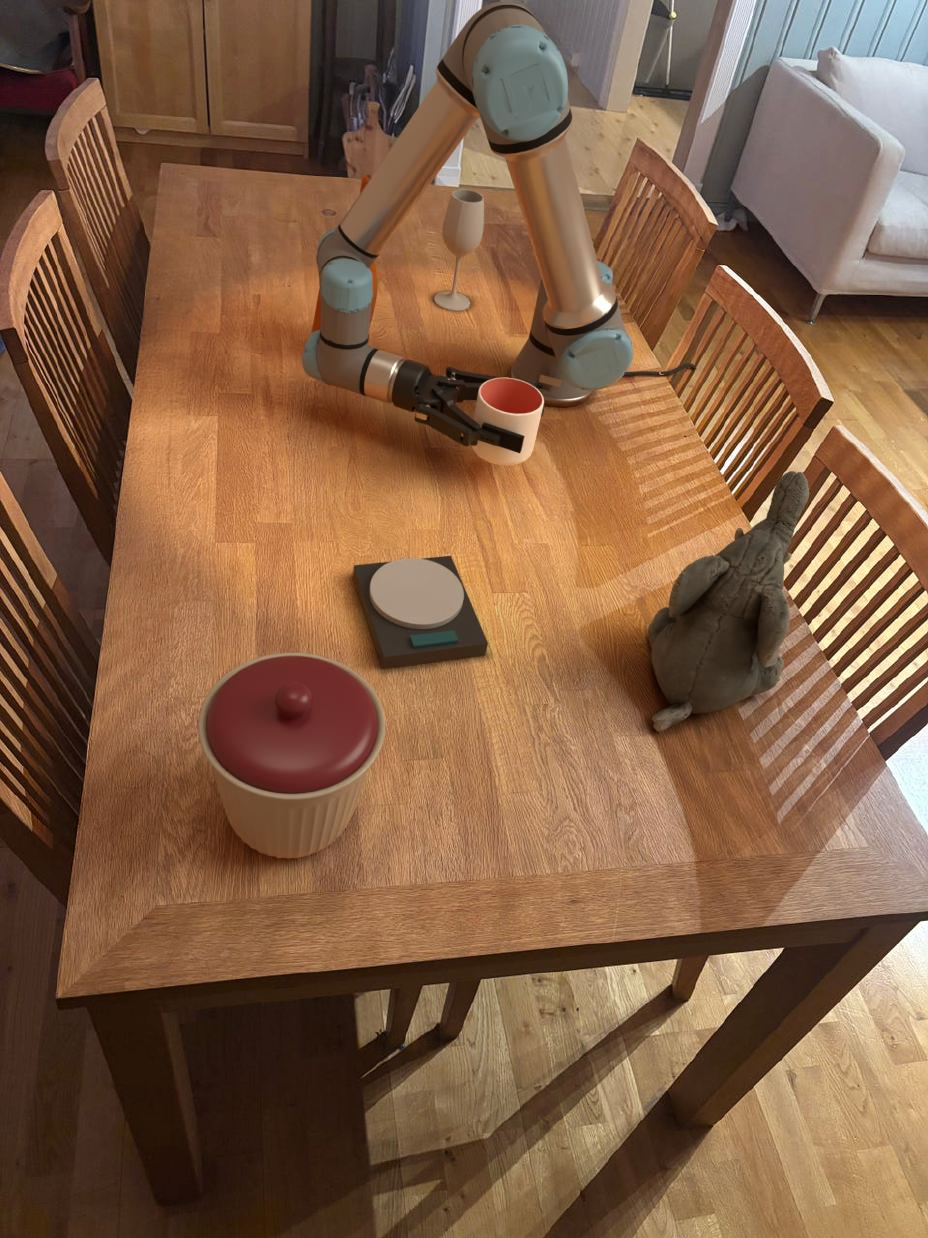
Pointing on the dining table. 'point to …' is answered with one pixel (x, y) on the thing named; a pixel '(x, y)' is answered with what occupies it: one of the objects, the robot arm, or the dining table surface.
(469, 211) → the wineglass
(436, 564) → the scale
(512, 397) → the cup
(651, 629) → the stuffed elephant
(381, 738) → the canister
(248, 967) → the dining table surface
